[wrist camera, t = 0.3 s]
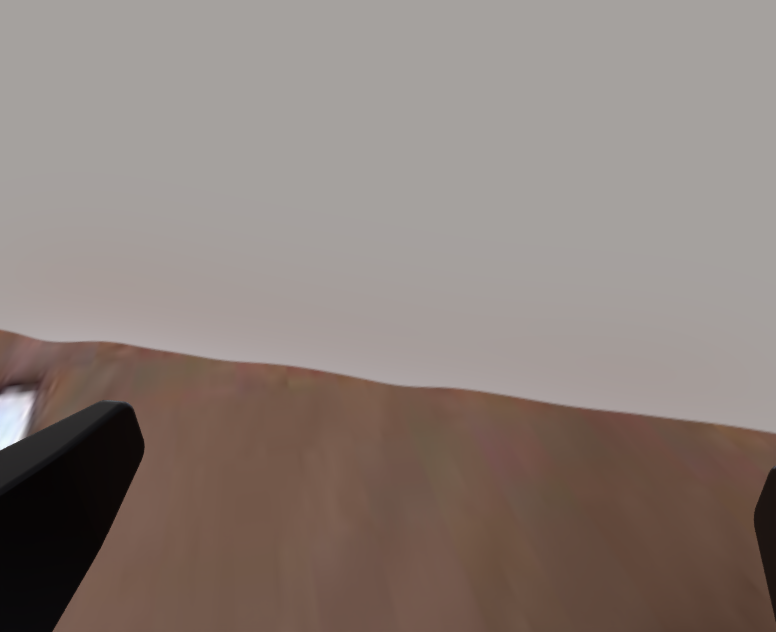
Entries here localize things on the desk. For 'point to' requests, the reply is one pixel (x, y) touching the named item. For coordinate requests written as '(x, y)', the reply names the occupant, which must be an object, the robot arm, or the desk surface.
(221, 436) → the desk surface
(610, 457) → the desk surface
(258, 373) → the desk surface
